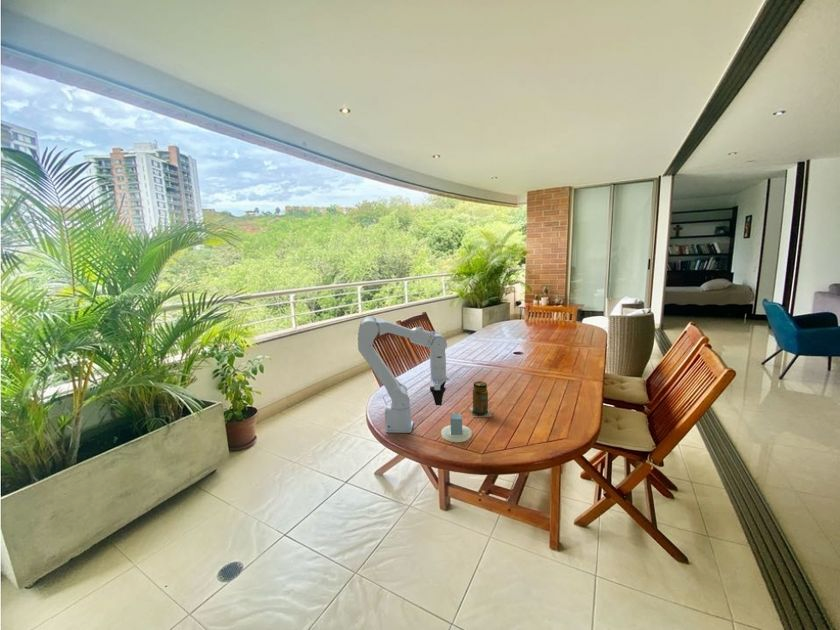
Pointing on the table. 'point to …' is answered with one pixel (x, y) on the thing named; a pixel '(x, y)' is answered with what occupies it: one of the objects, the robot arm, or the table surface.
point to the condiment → (480, 400)
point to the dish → (456, 438)
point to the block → (456, 424)
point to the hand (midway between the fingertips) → (439, 400)
